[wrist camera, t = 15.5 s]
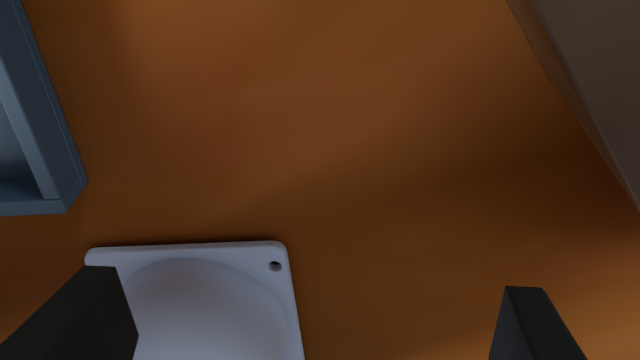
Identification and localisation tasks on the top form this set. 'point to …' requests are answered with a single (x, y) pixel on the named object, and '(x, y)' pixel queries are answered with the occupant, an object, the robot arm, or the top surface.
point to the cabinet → (593, 72)
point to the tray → (32, 127)
